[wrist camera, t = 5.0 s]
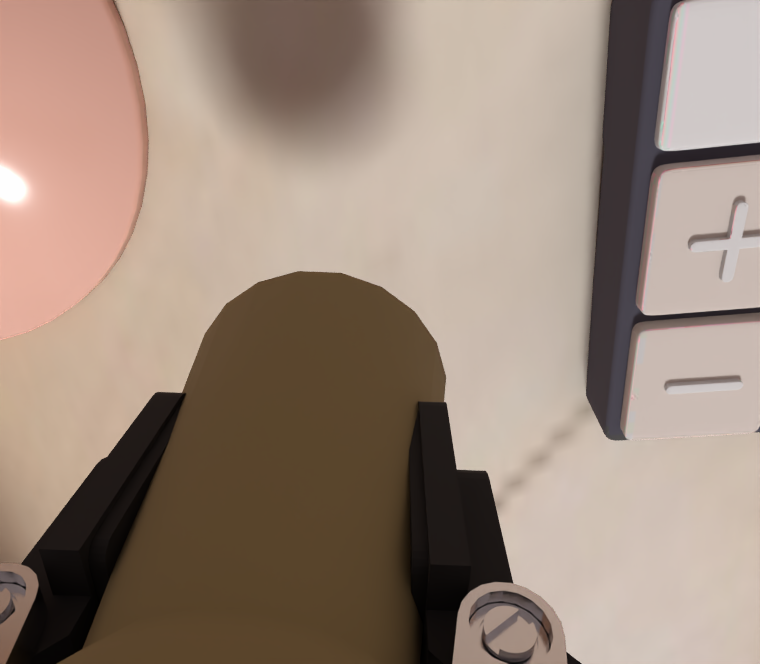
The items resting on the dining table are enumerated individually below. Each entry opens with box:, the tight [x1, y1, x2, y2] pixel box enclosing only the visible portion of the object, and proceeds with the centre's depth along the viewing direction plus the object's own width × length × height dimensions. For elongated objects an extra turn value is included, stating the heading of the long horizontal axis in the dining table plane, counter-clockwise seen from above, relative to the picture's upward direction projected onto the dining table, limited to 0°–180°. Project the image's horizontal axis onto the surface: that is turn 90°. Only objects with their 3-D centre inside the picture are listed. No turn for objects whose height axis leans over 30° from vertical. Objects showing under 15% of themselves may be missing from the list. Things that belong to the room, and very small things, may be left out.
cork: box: [57, 271, 446, 664], centre depth 9 cm, size 6×6×11 cm
